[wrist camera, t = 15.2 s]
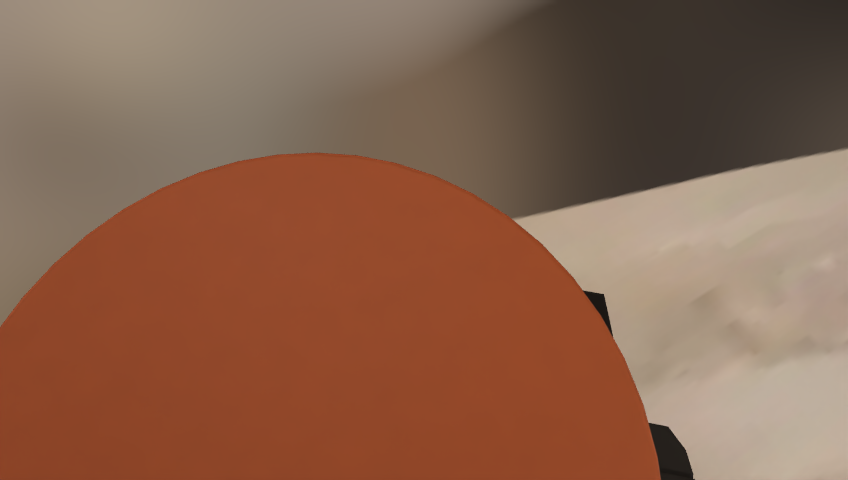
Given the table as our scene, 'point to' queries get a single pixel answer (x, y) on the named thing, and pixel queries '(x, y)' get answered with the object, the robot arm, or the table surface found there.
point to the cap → (314, 340)
